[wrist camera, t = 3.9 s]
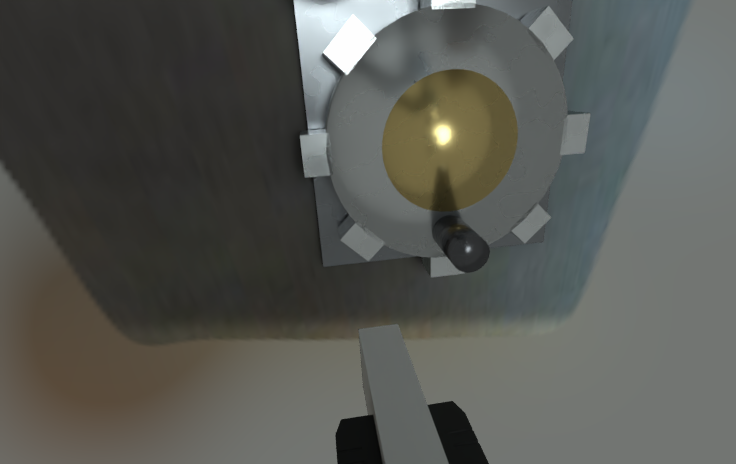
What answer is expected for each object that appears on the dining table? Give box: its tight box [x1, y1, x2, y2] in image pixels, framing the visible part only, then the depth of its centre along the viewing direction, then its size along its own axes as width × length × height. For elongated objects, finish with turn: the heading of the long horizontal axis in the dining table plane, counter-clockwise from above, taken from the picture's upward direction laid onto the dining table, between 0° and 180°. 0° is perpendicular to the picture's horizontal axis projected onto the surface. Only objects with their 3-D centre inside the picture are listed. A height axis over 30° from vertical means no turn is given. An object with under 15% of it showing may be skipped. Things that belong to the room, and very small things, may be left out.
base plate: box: [294, 0, 572, 267], centre depth 28 cm, size 18×18×1 cm
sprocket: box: [300, 0, 590, 277], centre depth 24 cm, size 19×19×6 cm
